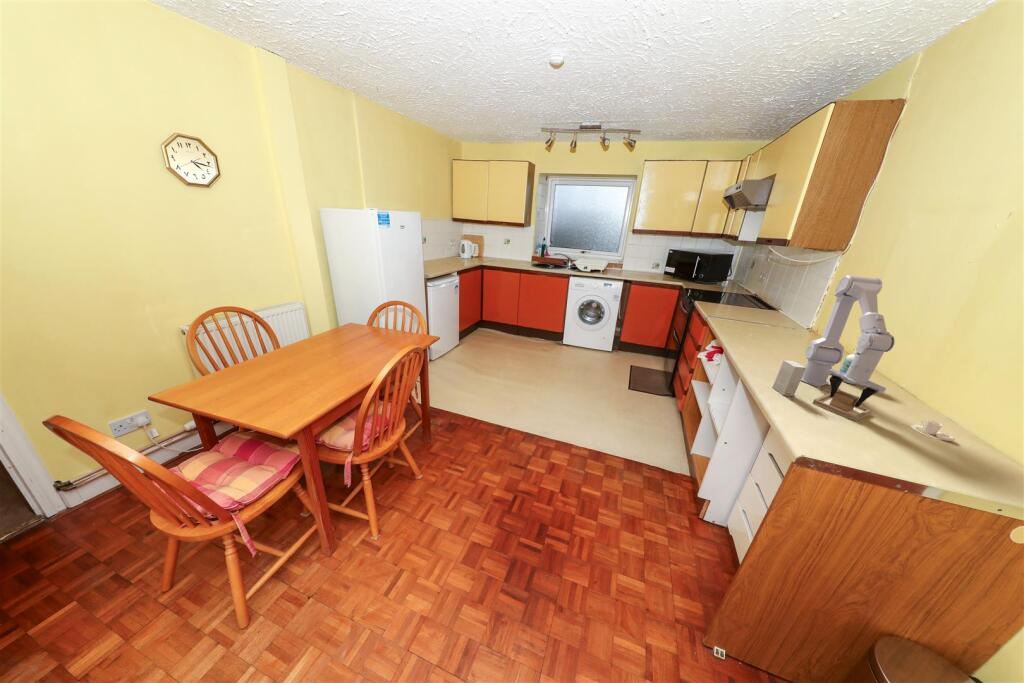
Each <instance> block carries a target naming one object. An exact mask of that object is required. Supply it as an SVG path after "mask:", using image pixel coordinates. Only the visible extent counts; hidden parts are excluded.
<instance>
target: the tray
mask: <svg viewBox="0 0 1024 683" xmlns="http://www.w3.org/2000/svg"><path fill="white" fill-rule="evenodd" d="M832 398H833V397H830V393H827V394H824V395H822V396H819V397H817V398H815V399H813V401H812V404H813V405H816V406H818V407H821V408H823V409H825V410H828V411H830V412H833V413H835V414H837V415H840V416H842V417H845V418H847V419H849V420H852V421H854V422H857V421H859V420H861V419H863V418H865V417H867V416H868V415H870V414H871V413H872V409H869V408H867V407H865V406H861V405H860V406H859V407H855V406H854V408H853V410H851V411H849V412H845V411H843V410H840V409H838V408H835V407H833V406H831V405H829V404H830V402H831V400H832Z"/></svg>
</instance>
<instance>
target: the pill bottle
mask: <svg viewBox="0 0 1024 683" xmlns="http://www.w3.org/2000/svg"><path fill="white" fill-rule="evenodd" d="M856 353H857V352H856V349H855V350H854V351H853V354H849V355H848V354H847V356H846V357H845V359H844V361H843V362H842V365H841V367H840V368H839V371H840V372H844V373H846V372H847V370H848V368H849V366H850V365H851V363H852V361H853V359H854V357H855V355H856ZM842 383H847V384H850V385H855V384H854V383H851V382H848V381H846V380H843V381H842Z"/></svg>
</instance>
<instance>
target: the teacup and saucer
mask: <svg viewBox="0 0 1024 683" xmlns="http://www.w3.org/2000/svg"><path fill="white" fill-rule="evenodd" d="M924 421H926V423H925V425H924ZM910 426H911V428H912V430H914V431H916V432H917V433H919V434H921V435H924V436H926V437H929V438H932V439H936V440H939V441H947V442H954V441H956V438H955V437H954V436H953V435H949V434H947V433H943V432H941V431H940V430H941V429H942V427H943V426H944V425H943V424H942V423H940V422H938V421H935V420H930V419H922V421H921V425H919V424H912V425H910ZM918 428H923V431H924V432H925V433H923V432H921V431H920V430H918ZM931 435H933V436H931ZM934 435H935V436H934Z"/></svg>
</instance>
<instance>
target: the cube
mask: <svg viewBox="0 0 1024 683" xmlns="http://www.w3.org/2000/svg"><path fill="white" fill-rule="evenodd" d="M859 398H860V396H858V395H855V394H852V393H849V392H847V391H844V390H837V392H836V393H835V394H834V396H833V398H832V400H831V402H830V404H829V405H831V406H833V407H835V408H838V409H840V410H843V411H845V412H849V411H851V410H853V408H854V406H855V404H856V403H857V401H858V400H859Z"/></svg>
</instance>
